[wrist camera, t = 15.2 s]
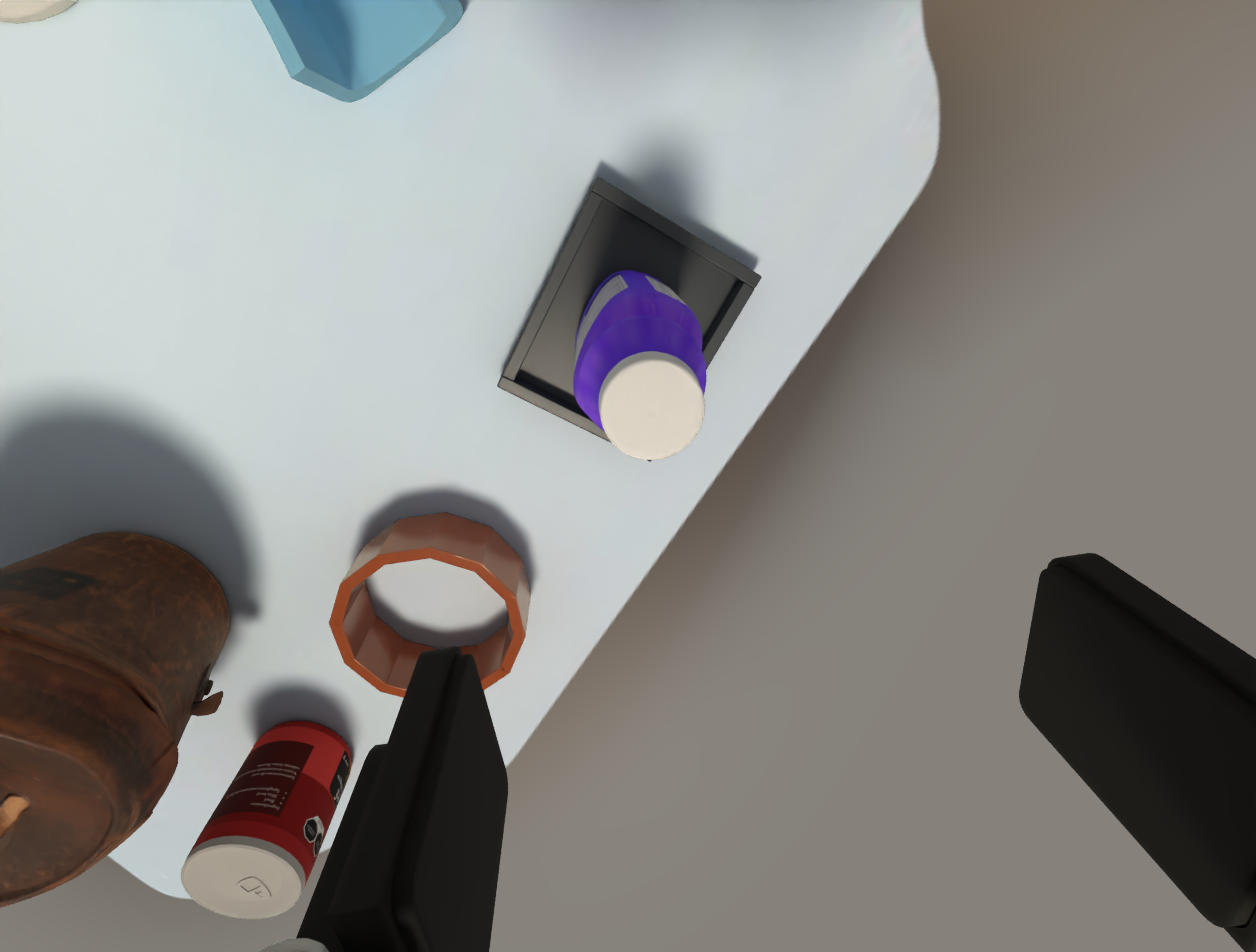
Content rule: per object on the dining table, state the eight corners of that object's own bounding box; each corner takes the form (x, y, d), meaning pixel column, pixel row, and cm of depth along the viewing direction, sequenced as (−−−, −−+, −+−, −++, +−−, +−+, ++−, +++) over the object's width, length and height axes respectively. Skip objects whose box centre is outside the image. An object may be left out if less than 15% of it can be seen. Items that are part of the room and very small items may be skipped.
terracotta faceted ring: (383, 666, 49) (363, 713, 44) (333, 527, 44) (305, 565, 39) (541, 643, 49) (537, 687, 45) (509, 502, 44) (501, 536, 39)
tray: (647, 451, 43) (650, 462, 41) (500, 378, 40) (496, 386, 39) (753, 273, 39) (762, 276, 37) (596, 177, 36) (598, 176, 34)
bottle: (640, 396, 41) (678, 514, 25) (560, 361, 40) (549, 464, 24) (689, 293, 39) (767, 352, 23) (607, 253, 37) (628, 286, 21)
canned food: (320, 799, 54) (262, 934, 44) (237, 755, 51) (154, 889, 41) (374, 750, 52) (325, 879, 42) (291, 702, 50) (218, 828, 40)
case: (94, 732, 49) (-147, 993, 33) (-64, 515, 41) (-487, 718, 25) (312, 690, 49) (180, 930, 33) (197, 464, 41) (-54, 633, 25)
